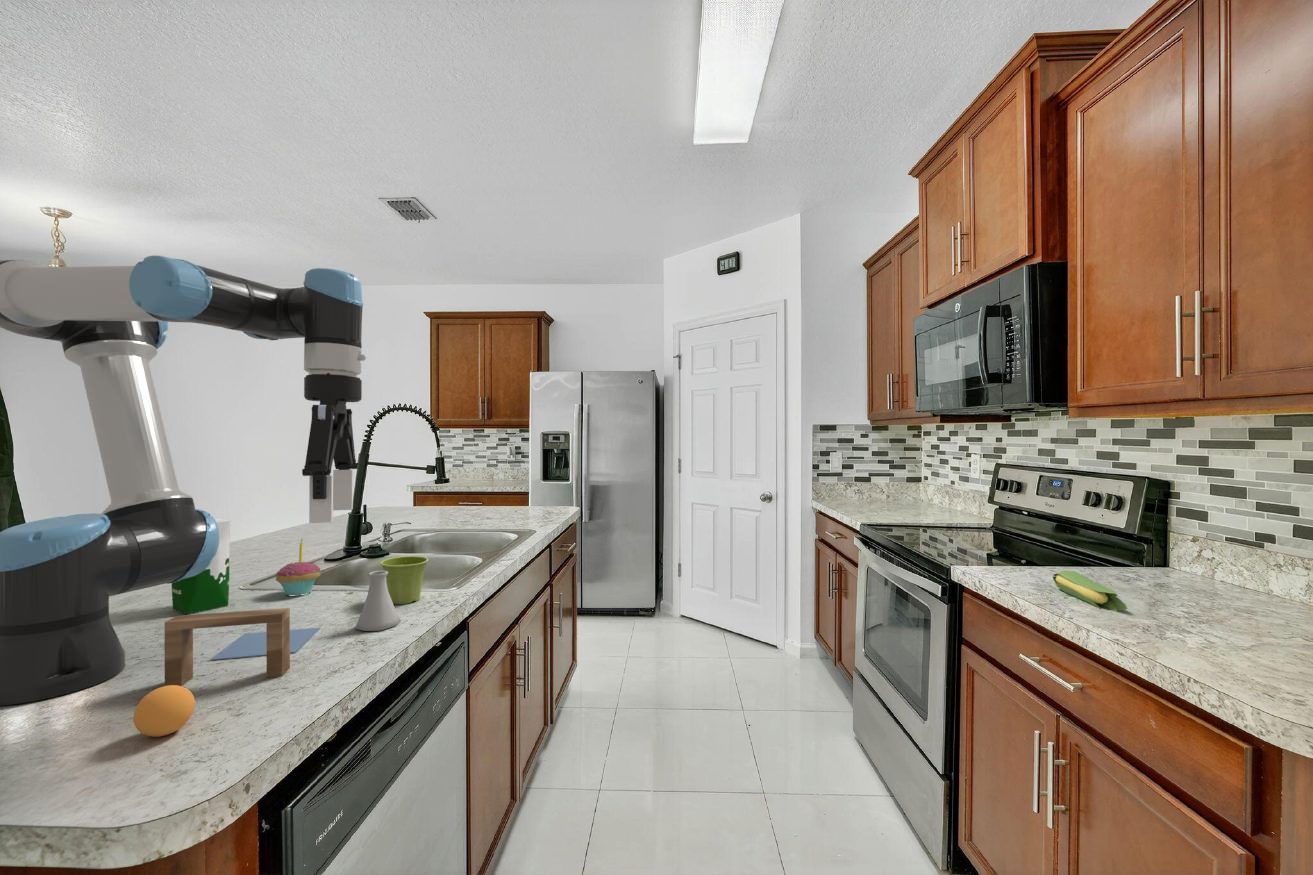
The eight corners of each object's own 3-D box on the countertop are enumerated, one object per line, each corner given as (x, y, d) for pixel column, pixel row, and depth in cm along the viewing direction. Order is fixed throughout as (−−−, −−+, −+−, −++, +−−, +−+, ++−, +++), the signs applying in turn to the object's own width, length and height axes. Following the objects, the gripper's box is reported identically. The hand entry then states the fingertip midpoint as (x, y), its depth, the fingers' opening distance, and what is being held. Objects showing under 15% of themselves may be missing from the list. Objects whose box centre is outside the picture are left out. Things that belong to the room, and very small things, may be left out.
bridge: (282, 676, 82) (282, 613, 82) (164, 687, 78) (164, 622, 78) (289, 667, 85) (289, 607, 85) (176, 678, 81) (176, 615, 81)
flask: (382, 633, 100) (381, 578, 100) (346, 631, 101) (346, 576, 101) (407, 620, 107) (407, 568, 107) (374, 618, 108) (374, 567, 108)
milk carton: (165, 609, 114) (165, 512, 114) (218, 598, 122) (218, 507, 122) (182, 617, 109) (182, 515, 109) (236, 605, 117) (236, 510, 117)
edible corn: (1073, 569, 129) (1053, 563, 130) (1134, 597, 109) (1110, 589, 110) (1066, 590, 130) (1045, 584, 130) (1125, 621, 110) (1101, 614, 110)
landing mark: (209, 660, 88) (209, 659, 88) (244, 634, 99) (244, 633, 99) (296, 652, 91) (296, 651, 91) (319, 628, 103) (319, 627, 103)
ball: (121, 749, 63) (121, 700, 63) (151, 725, 68) (151, 680, 68) (179, 742, 64) (179, 694, 64) (204, 719, 70) (204, 675, 70)
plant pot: (428, 592, 126) (428, 554, 126) (427, 604, 117) (427, 563, 117) (382, 597, 123) (382, 557, 123) (378, 609, 114) (378, 567, 114)
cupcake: (283, 590, 128) (283, 538, 128) (325, 587, 131) (325, 536, 131) (270, 600, 120) (270, 545, 120) (315, 597, 123) (314, 542, 123)
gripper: (343, 366, 73) (342, 527, 73) (375, 383, 97) (374, 504, 97) (276, 364, 71) (276, 530, 71) (326, 381, 95) (325, 506, 95)
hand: (332, 515), depth 84 cm, fingers open, 13 cm apart
